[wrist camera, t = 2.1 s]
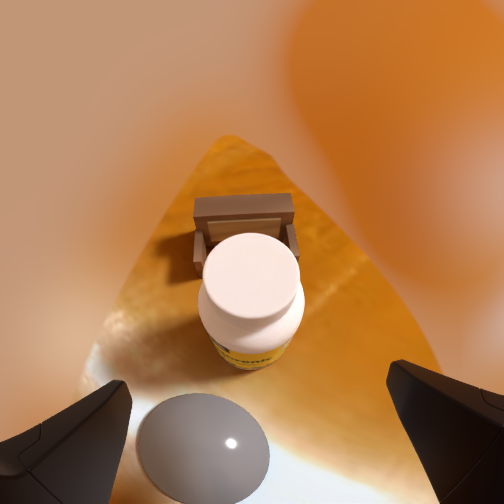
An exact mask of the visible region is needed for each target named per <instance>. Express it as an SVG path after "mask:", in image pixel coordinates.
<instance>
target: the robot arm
mask: <svg viewBox="0 0 504 504" xmlns="http://www.w3.org/2000/svg"><path fill="white" fill-rule="evenodd" d="M386 384H387V388H388V390H389V393H390V395H391V398H392V400H393V403H394V406H395V408H396V411H397V414H398V416H399V418H400V421H401V423H402V425H403V427H404V429H405V430H406V432H407V434H408V436H409V438H410V440H411V442H412V444H413V447H414V449H415V451H416V453H417V455H418V457H419V459H420V461H421V463H422V465H423V467H424V470H425V472H426V474H427V476H428V478H429V480H430V483H431V485H432V487H433V489H434V492H435V494H436V496H437V498H438V501H439V502H440V503H439V504H504V395H499V394H496V393H493V392H490V391H487V390H483V389H479V388H477V387H475V386H472V385H469V384H466V383H463V382H460V381H458V380H455V379H452V378H449V377H447V376H444V375H442V374H439V373H436V372H434V371H431V370H428V369H426V368H423V367H421V366H418V365H415V364H413V363H410V362H408V361H405V360H403V359H401V360H397V361H393V362H392V363H391V364H390V368H389V372H388V376H387V380H386ZM131 409H132V398H131V395H130V392H129V390H128V387H127V384H126V383H125V382H124V381H122V380H112V381H111V382H109V383H107V384H106V385H104V386H102V387H101V388H99V389H98V390H96V391H94V392H93V393H91V394H89V395H88V396H86V397H84V398H83V399H81V400H79V401H78V402H76V403H74V404H73V405H71V406H69V407H68V408H66V409H64V410H62V411H61V412H59V413H57V414H56V415H54V416H52V417H50V418H49V419H47V420H45V421H43V422H42V424H41V423H40V424H38V425H36V426H34V427H33V428H31V429H29V430H27V431H25V432H23V433H21V434H19V435H17V436H14V437H12V438H10V439H7V440H5V441H2V442H0V504H109V500H110V496H111V492H112V488H113V484H114V480H115V477H116V473H117V469H118V466H119V462H120V458H121V455H122V452H123V448H124V445H125V441H126V436H127V431H128V425H129V420H130V414H131Z"/></svg>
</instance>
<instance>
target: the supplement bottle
mask: <svg viewBox="0 0 504 504" xmlns="http://www.w3.org/2000/svg"><path fill="white" fill-rule="evenodd" d="M198 310H199V315H200V318H201V321H202V324H203V326H204V328H205V330H206V332H207V333H208V335H209V337H210V339H211V341H212V343H213V344H214V346H215V348H216V350H217V351H218V353H219V354H220V355H221V357H222V358H223V359H224V360H225V361H227V362H228V363H229V364H231V365H233V366H235V367H237V368H240V369H245V370H257V369H262V368H265V367H267V366H269V365H271V364H272V363H274V362H275V361H276V360H277V359H278V358H279V357H280V356H281V355H282V354H283V352H284V351H285V349H286V347H287V346H288V344H289V342H290V340H291V339H292V337H293V335H294V334H295V332H296V330H297V328H298V326H299V324H300V322H301V319H302V316H303V311H304V293H303V288H302V286H301V283H300V272H299V267H298V263H297V261H296V258H295V257H294V255H293V254H292V252H291V251H290V250H289V248H288V247H287V246H285V245H284V244H283V243H282V242H280V241H279V240H277V239H275V238H273V237H270V236H267V235H264V234H258V233H243V234H238V235H235V236H232V237H229V238H227V239H225V240H224V241H222V242H221V243H219V244H218V245H217V246H216V247H215V248H214V249H213V250H212V251H211V252H210V254H209V255H208V257H207V259H206V261H205V264H204V268H203V282H202V285H201V287H200V290H199V294H198Z"/></svg>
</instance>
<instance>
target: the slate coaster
mask: <svg viewBox="0 0 504 504" xmlns="http://www.w3.org/2000/svg"><path fill="white" fill-rule="evenodd" d="M139 454H140V459H141V462H142V465H143V467H144V469H145V471H146V473H147V475H148V476H149V478H150V479H151V480H152V482H153V483H154V484H155V485H156V486H157V487H158V488H159V489H160V490H161V491H163V492H164V493H165V494H167V495H168V496H170V497H171V498H173V499H175V500H177V501H179V502H182V503H184V504H235V503H237V502H239V501H242V500H243V499H245V498H247V497H248V496H250V495H251V494H252V493H253V492H254V491H255V490H256V489H257V488H258V487H259V486H260V484H261V483H262V481H263V479H264V478H265V475H266V473H267V470H268V466H269V458H270V454H269V446H268V442H267V439H266V436H265V434H264V432H263V430H262V428H261V427H260V425H259V424H258V422H257V421H256V420H255V419H254V418H253V417H252V416H251V415H250V413H248V412H247V411H246V410H245V409H243V408H242V407H240V406H239V405H237V404H236V403H234V402H232V401H229V400H227V399H225V398H222V397H219V396H215V395H210V394H198V393H193V394H185V395H180V396H177V397H174V398H171V399H169V400H167V401H165V402H163V403H162V404H160V405H159V406H157V407H156V408H155V409H154V410H153V411H152V412H151V413H150V414H149V416H148V417H147V418H146V420H145V422H144V424H143V426H142V429H141V431H140V436H139Z"/></svg>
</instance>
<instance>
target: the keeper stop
mask: <svg viewBox="0 0 504 504" xmlns="http://www.w3.org/2000/svg"><path fill="white" fill-rule="evenodd" d="M193 218H194V222H195V226H196V229H195V240H194V256H193V263H194V266H195V269H196V272H197V274H198V277H199V278H203V268H204V264H205V261H206V257H207V247H211V246H217V245H218V244H219V243H221V242H222V241H224V240H225V239H227V238H229V237H232V236H235V235H238V234H243V233H258V234H264V235H267V236H270V237H273V238H275V239H277V240H279V241H280V242H282V243H283V244H284V245H285V246H287V247H288V248H289V250H290V251H291V252H292V254H293V255H294V257H295V258H296V261H297V263H298V260H299V256H300V255H299V250H298V245H297V240H296V234H295V229H294V224H292V223H293V218H294V207H293V203H292V198H291V194H290V193H281V194H253V195H233V196H216V197H202V198H195V205H194V215H193Z"/></svg>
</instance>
